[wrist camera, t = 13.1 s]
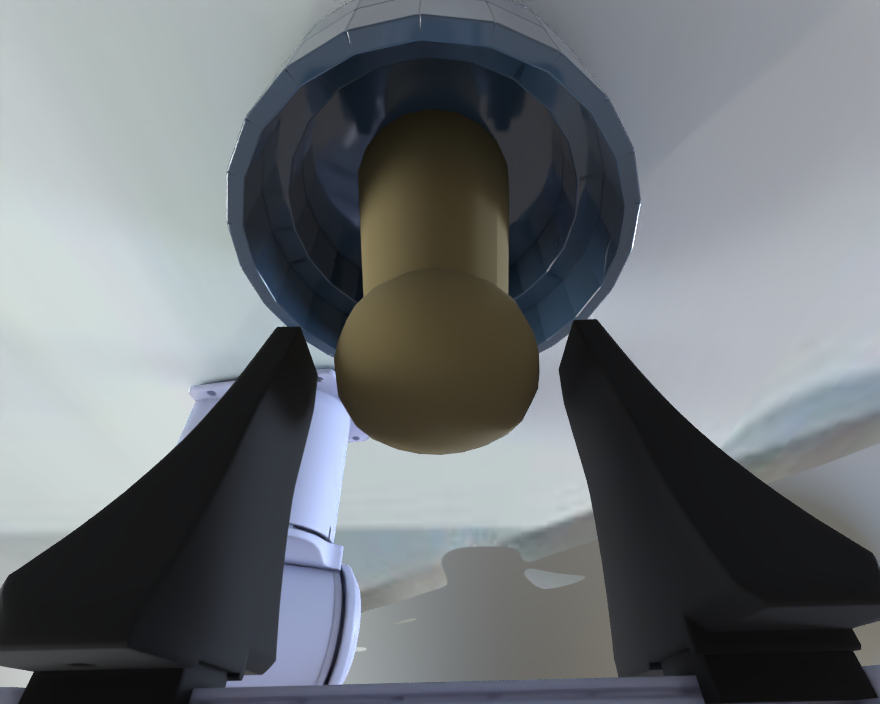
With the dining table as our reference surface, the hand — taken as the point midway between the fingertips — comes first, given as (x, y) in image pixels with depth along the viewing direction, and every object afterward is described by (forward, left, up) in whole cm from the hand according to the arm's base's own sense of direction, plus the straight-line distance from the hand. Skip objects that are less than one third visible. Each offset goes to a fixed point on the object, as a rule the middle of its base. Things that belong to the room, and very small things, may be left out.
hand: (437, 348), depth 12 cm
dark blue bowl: (0, 0, -9) cm, 9 cm away
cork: (0, 0, -9) cm, 9 cm away
